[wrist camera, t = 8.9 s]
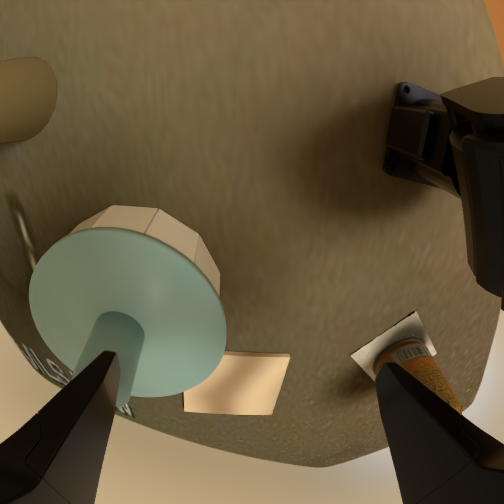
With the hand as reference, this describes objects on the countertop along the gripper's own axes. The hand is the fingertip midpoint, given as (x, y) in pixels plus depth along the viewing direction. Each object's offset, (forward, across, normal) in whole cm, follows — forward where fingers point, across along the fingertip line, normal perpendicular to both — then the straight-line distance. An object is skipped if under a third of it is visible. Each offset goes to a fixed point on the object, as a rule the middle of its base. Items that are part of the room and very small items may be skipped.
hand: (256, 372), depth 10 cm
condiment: (+13, -17, +12) cm, 24 cm away
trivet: (+12, -1, +16) cm, 20 cm away
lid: (+8, +7, +6) cm, 12 cm away
